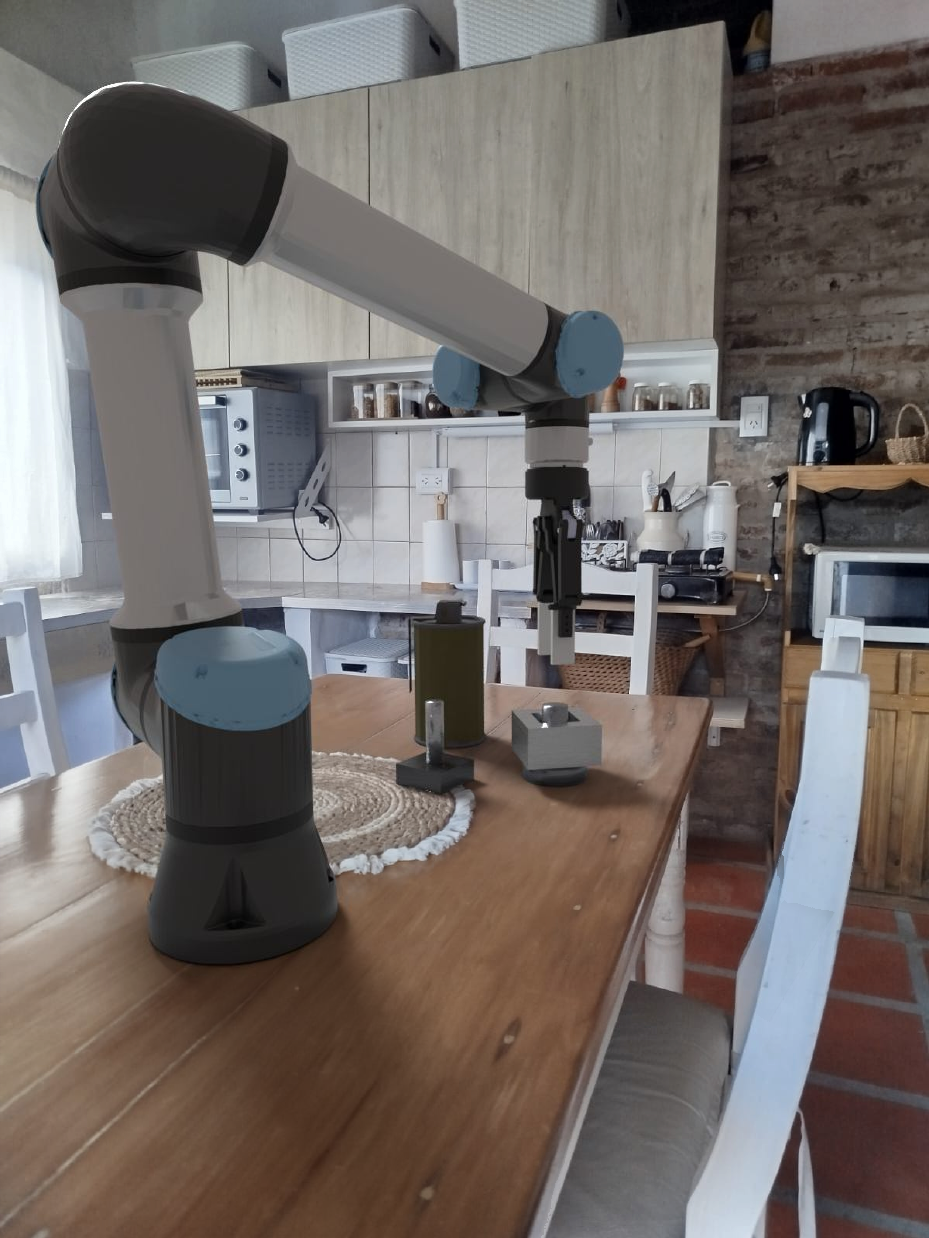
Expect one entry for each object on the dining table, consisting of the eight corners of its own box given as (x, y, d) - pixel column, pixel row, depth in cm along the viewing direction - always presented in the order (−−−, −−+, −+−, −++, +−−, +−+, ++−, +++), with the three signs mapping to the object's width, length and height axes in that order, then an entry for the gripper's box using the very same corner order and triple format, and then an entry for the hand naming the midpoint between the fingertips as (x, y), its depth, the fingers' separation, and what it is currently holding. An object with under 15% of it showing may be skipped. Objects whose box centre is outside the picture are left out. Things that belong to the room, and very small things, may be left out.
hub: (567, 790, 99) (567, 716, 98) (510, 778, 104) (510, 707, 103) (598, 773, 106) (599, 703, 105) (543, 762, 111) (543, 695, 109)
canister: (488, 729, 127) (488, 597, 124) (483, 749, 116) (482, 605, 114) (416, 728, 128) (414, 596, 125) (405, 747, 117) (402, 605, 115)
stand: (440, 794, 99) (439, 710, 97) (396, 783, 103) (394, 703, 101) (474, 778, 104) (473, 699, 103) (430, 768, 108) (429, 692, 107)
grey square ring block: (528, 769, 100) (528, 728, 99) (511, 748, 108) (511, 710, 108) (601, 765, 101) (601, 724, 100) (579, 744, 110) (579, 706, 109)
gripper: (613, 462, 91) (610, 672, 94) (565, 469, 109) (564, 645, 113) (546, 462, 90) (544, 675, 93) (509, 469, 108) (509, 647, 112)
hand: (555, 658), depth 103 cm, fingers open, 6 cm apart
